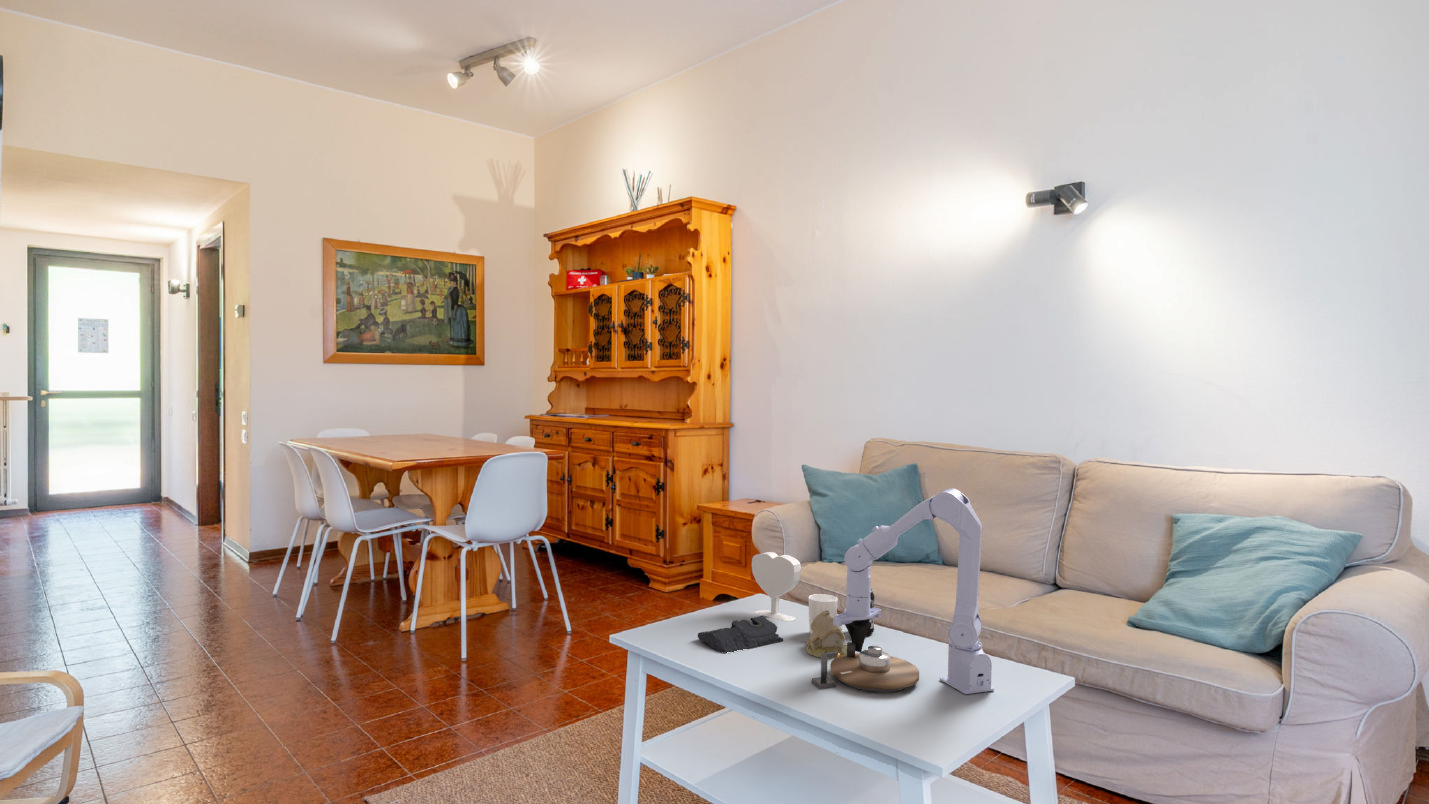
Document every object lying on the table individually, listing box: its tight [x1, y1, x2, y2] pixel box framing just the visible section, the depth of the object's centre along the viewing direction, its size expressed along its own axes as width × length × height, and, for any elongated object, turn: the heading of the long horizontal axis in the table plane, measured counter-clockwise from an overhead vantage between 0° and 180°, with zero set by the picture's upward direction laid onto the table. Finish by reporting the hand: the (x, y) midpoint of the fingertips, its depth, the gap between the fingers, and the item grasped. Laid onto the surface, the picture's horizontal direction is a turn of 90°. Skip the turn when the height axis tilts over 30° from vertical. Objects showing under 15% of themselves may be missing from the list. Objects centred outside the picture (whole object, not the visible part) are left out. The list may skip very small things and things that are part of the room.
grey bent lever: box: [811, 652, 840, 690], centre depth 175 cm, size 4×6×7 cm, turn 110°
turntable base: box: [841, 681, 906, 693], centre depth 179 cm, size 16×16×1 cm
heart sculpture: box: [751, 551, 802, 622], centre depth 228 cm, size 16×5×18 cm, turn 49°
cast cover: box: [859, 645, 892, 673], centre depth 179 cm, size 7×7×5 cm
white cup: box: [807, 593, 838, 636], centre depth 211 cm, size 8×8×10 cm
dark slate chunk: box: [697, 615, 784, 653], centre depth 205 cm, size 15×22×5 cm
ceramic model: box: [806, 611, 847, 659], centre depth 199 cm, size 14×11×10 cm
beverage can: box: [866, 588, 876, 637], centre depth 213 cm, size 7×7×12 cm
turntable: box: [829, 641, 920, 690], centre depth 179 cm, size 20×20×4 cm
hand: (857, 651), depth 187 cm, fingers closed
